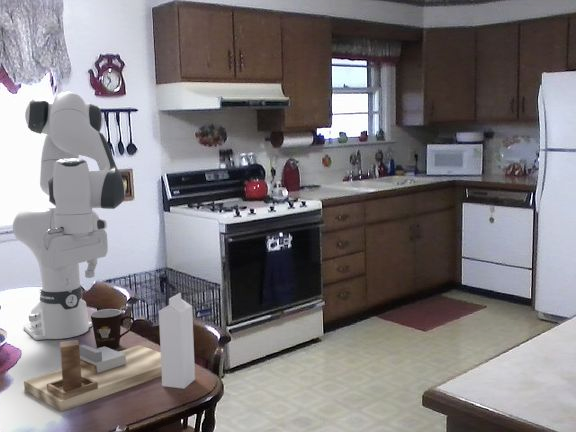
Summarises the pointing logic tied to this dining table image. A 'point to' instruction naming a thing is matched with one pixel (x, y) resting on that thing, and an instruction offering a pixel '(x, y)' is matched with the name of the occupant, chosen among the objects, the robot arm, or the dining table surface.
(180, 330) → the milk
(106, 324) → the coffee mug
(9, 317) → the dining table surface
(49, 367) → the dining table surface
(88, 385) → the board
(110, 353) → the cover
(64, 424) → the dining table surface
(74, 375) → the block
